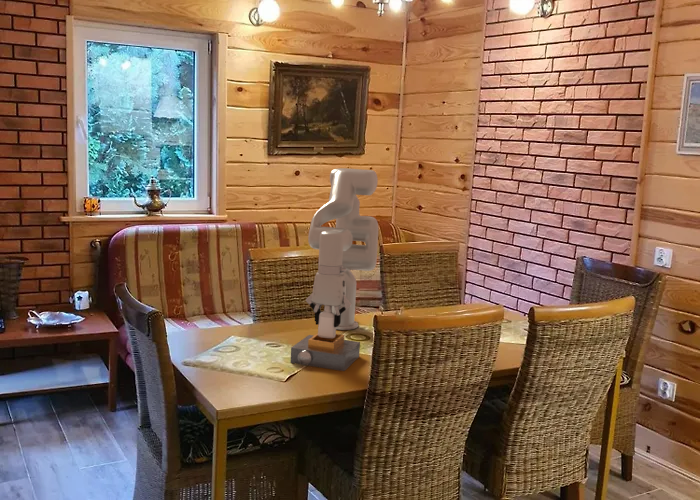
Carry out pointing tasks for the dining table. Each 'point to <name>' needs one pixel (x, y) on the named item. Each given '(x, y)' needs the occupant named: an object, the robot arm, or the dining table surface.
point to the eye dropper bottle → (326, 323)
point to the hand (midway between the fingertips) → (327, 324)
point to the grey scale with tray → (325, 352)
